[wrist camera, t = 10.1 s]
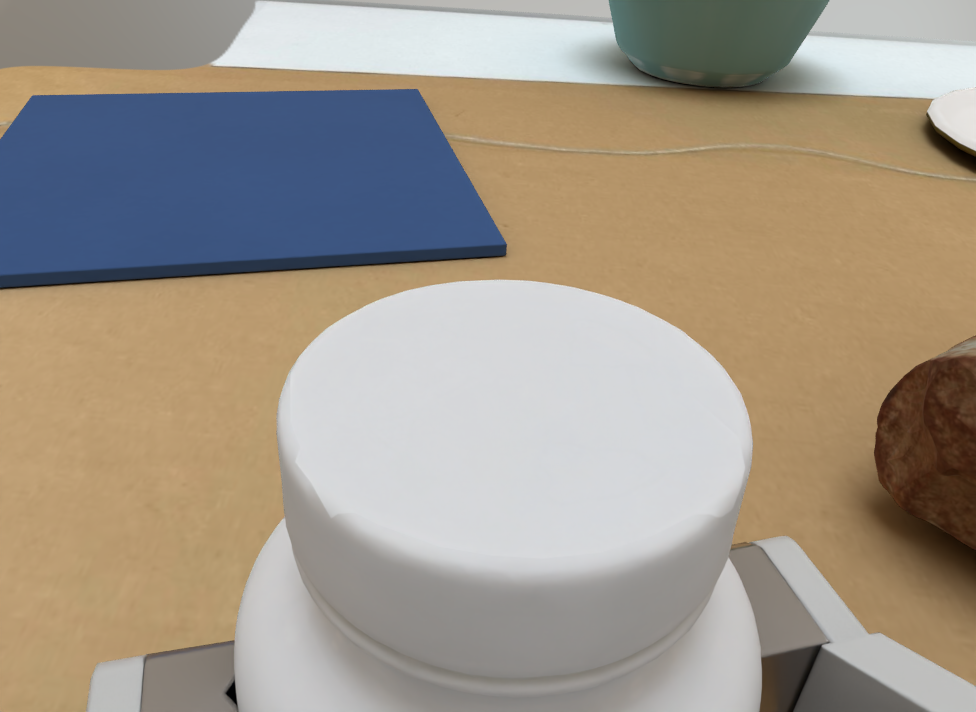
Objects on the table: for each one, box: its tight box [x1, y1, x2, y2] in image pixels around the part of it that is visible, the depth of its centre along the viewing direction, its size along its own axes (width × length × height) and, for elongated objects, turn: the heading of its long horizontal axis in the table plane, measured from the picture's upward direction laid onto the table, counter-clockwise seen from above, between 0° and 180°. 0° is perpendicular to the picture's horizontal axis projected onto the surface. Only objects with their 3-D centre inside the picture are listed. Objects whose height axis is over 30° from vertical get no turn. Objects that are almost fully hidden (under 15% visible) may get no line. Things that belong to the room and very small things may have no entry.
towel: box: [0, 89, 507, 288], centre depth 36 cm, size 20×20×1 cm
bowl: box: [609, 0, 829, 87], centre depth 53 cm, size 16×16×8 cm
